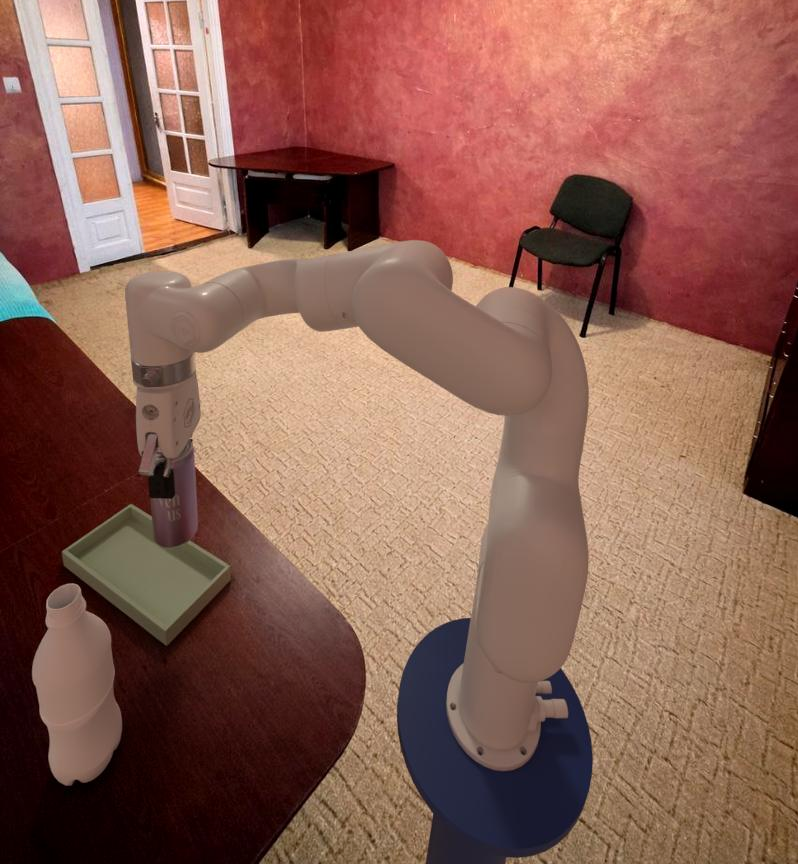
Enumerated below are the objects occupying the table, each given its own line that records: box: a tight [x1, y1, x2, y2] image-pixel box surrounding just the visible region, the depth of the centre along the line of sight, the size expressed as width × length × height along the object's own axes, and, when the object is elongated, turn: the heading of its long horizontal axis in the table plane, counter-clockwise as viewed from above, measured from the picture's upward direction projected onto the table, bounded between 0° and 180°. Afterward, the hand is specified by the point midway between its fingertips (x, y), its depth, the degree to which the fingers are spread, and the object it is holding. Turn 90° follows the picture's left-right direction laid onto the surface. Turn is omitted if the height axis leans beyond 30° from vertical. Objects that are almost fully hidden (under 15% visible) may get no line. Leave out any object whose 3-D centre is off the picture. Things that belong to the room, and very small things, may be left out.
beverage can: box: [149, 438, 199, 549], centre depth 69 cm, size 6×6×15 cm
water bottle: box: [31, 583, 123, 787], centre depth 54 cm, size 7×7×25 cm
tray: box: [61, 503, 232, 647], centre depth 79 cm, size 25×12×3 cm, turn 62°
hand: (172, 477), depth 68 cm, fingers closed on beverage can, 6 cm apart
